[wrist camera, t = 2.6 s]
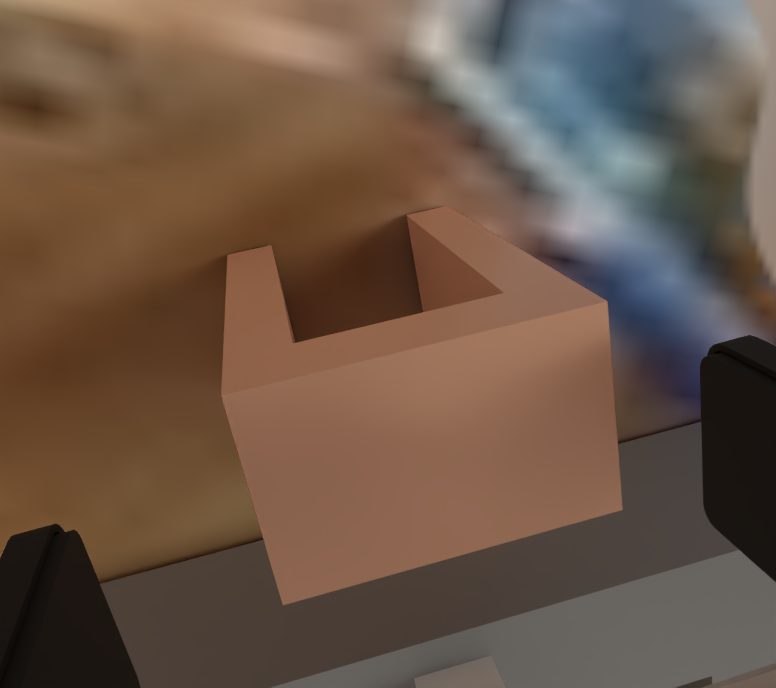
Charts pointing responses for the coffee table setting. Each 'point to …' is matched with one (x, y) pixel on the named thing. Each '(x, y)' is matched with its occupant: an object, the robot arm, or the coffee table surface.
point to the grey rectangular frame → (481, 606)
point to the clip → (421, 412)
